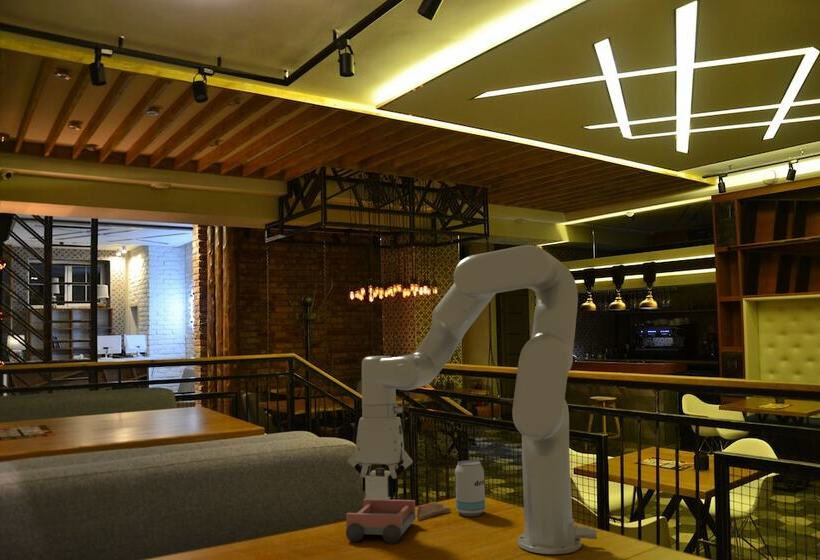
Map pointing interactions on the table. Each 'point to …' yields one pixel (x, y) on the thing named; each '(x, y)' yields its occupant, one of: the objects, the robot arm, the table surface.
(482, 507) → the beverage can
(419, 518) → the shard
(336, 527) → the table surface
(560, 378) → the robot arm
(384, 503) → the chassis
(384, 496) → the cube with metal knob
